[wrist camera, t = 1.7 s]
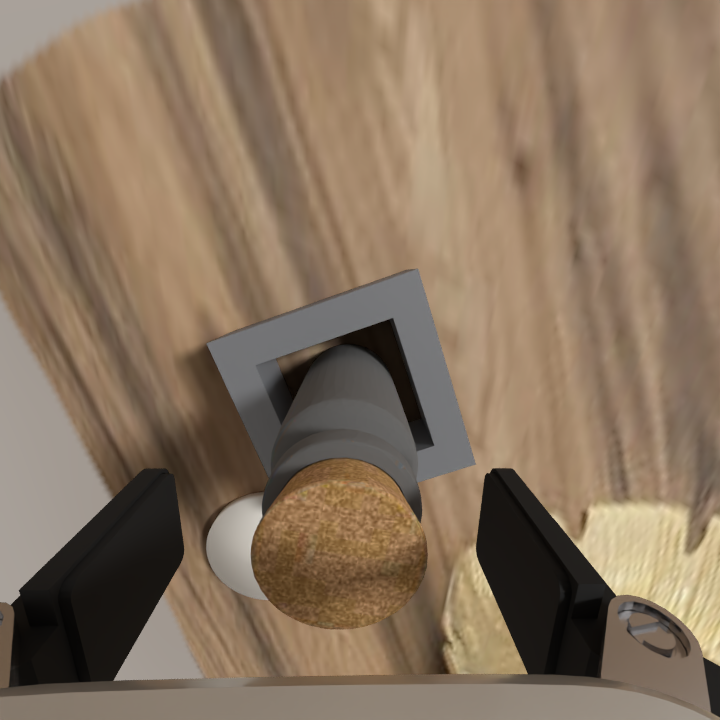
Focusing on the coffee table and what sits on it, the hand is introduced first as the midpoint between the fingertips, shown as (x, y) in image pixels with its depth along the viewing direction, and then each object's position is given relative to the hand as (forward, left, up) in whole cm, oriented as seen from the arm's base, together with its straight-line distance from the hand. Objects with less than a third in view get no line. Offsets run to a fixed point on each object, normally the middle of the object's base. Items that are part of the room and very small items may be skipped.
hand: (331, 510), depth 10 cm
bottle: (-1, 0, -14) cm, 14 cm away
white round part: (-11, +10, -14) cm, 20 cm away
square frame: (-1, 0, -14) cm, 14 cm away
